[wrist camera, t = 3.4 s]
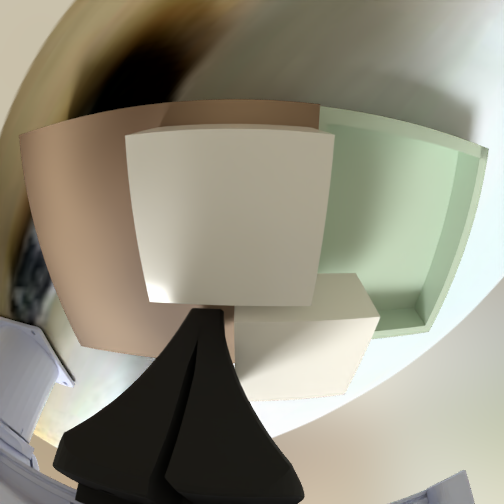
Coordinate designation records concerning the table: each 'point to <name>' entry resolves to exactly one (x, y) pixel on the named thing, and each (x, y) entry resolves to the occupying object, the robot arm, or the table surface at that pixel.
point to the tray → (399, 213)
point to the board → (117, 216)
